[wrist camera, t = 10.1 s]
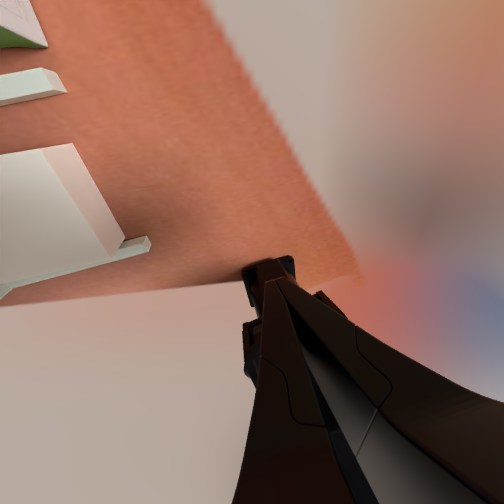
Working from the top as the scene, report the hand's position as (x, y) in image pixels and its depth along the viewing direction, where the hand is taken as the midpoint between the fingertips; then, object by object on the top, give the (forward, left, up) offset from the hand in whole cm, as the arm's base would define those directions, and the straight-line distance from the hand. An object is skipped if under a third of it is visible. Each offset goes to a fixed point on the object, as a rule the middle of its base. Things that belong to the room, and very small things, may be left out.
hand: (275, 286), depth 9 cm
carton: (+3, +15, -13) cm, 20 cm away
